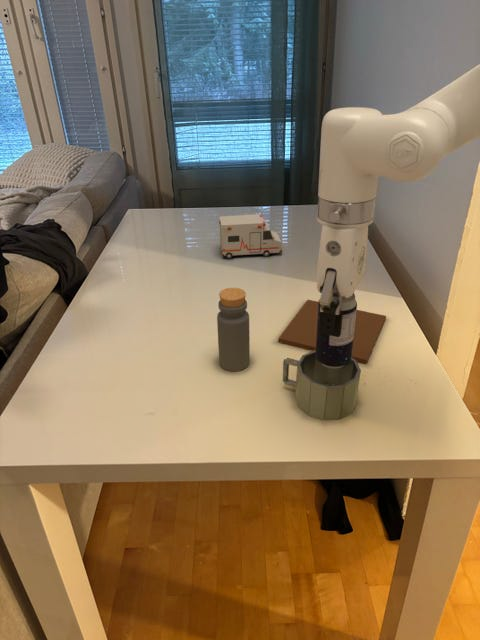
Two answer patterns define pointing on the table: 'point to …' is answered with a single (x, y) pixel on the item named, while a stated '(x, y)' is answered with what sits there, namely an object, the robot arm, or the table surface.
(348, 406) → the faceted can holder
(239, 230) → the toy vehicle
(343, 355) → the beverage can
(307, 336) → the mat
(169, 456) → the table surface
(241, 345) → the bottle
